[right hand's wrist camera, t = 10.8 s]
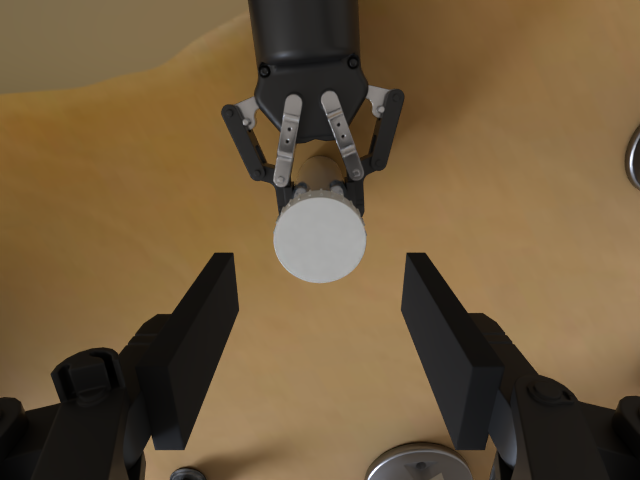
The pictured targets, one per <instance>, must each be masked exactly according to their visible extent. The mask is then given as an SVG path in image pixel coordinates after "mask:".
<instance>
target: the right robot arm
mask: <svg viewBox="0 0 640 480" xmlns="http://www.w3.org/2000/svg"><path fill="white" fill-rule="evenodd" d="M238 312H239V304H238V294H237V284H236V274H235V264H234V254H233V253H214V254H213V256H212V257H211V259H210V260H209V262H208V263H207V264H206V266H205V267H204V269H203V270H202V272H201V273H200V274H199V276H198V277H197V279H196V280H195V281H194V283H193V284H192V286H191V287H190V289H189V290H188V291H187V293H186V294H185V296H184V297H183V299H182V300H181V301H180V303H179V304H178V306H177V307H176V308H175V310H174V311H173V313H172V314H157V315H155V316H154V317H152V318H151V319H150V320H148V321H147V322H145V323H144V324H143V325H142V326H141V327H140V329H139V330H138V331H137V332H136V334H135V336H133V337H132V339H131V340H130V341H129V342H128V345H126V346H125V347H124V349H123V350H122V351H121V352H120V354H119V355H118V353H117V352H116V351H114V350H113V349H110V348H104V347H102V348H92V349H89V350H85V351H82V352H79V353H77V354H75V355H73V356H71V357H69V358H67V359H65V360H64V361H63V362H61V363H60V364H59V365H57V366H56V368H55V369H54V370H53V371H52V373H51V377H52V380H53V382H54V385H55V388H56V391H57V393H58V396H59V399H60V402H61V403H58V404H55V405H51V406H46V407H42V408H38V409H33V410H29V411H24V408H23V406H22V404H21V402H20V401H19V400H17V399H16V398H8V397H3V398H0V480H144V479H145V469H146V461H145V455H144V451H143V450H144V448H145V446H146V444H147V442H148V440H149V438H150V436H151V435H152V439H153V443H154V447H155V450H185V447H186V444H187V442H188V439H189V437H190V434H191V432H192V429H193V427H194V424H195V421H196V419H197V416H198V414H199V411H200V409H201V406H202V404H203V401H204V398H205V396H206V393H207V391H208V388H209V386H210V383H211V381H212V378H213V375H214V373H215V370H216V368H217V365H218V363H219V360H220V358H221V355H222V352H223V350H224V347H225V345H226V342H227V340H228V337H229V335H230V332H231V329H232V327H233V324H234V322H235V319H236V317H237V314H238ZM401 312H402V314H403V317H404V319H405V322H406V324H407V327H408V329H409V332H410V335H411V337H412V340H413V342H414V345H415V347H416V350H417V352H418V355H419V358H420V360H421V363H422V365H423V368H424V370H425V373H426V375H427V378H428V381H429V383H430V386H431V388H432V391H433V393H434V396H435V398H436V401H437V404H438V406H439V409H440V411H441V414H442V416H443V419H444V421H445V424H446V427H447V429H448V432H449V434H450V437H451V439H452V442H453V444H454V447H455V450H485V447H486V443H487V439H488V435H490V436H491V438H492V440H493V442H494V444H495V446H496V448H497V451H496V455H495V459H494V462H493V466H492V470H491V474H490V479H489V480H495V478H496V480H640V397H639V396H626V397H624V398H623V399H621V400H620V401H619V404H618V406H617V408H616V410H613V409H609V408H604V407H600V406H596V405H592V404H587V403H583V402H580V401H578V400H577V398H576V397H575V395H574V394H573V393H572V392H571V391H570V390H569V389H568V388H566V387H565V386H564V385H562V384H560V383H559V382H557V381H555V380H553V379H551V378H548V377H545V376H542V375H538V373H537V372H536V371H535V370H534V368H533V367H532V366H531V365H530V363H529V362H528V361H527V360H526V358H525V357H524V356H523V355H522V353H521V352H520V351H519V350H518V348H517V347H516V346H515V345H514V344H512V341H511V340H510V338H509V337H508V336H507V335H505V332H504V331H503V330H502V329H501V327H500V326H499V325H498V324H497V322H495V321H494V320H492V319H491V318H489V317H488V316H486V315H485V314H483V313H467V311H466V310H465V308H464V307H463V306H462V304H461V303H460V301H459V300H458V299H457V297H456V296H455V294H454V293H453V291H452V290H451V289H450V287H449V286H448V284H447V283H446V281H445V280H444V279H443V277H442V276H441V274H440V273H439V272H438V270H437V269H436V267H435V266H434V264H433V263H432V262H431V260H430V259H429V257H428V256H427V254H426V253H407V254H406V264H405V274H404V284H403V294H402V304H401ZM365 480H473V478H472V475H471V472H470V470H469V467H468V465H467V463H466V461H465V460H464V459H463V458H462V456H460V455H459V454H458V453H457V452H455V451H454V450H452V449H450V448H447V447H445V446H442V445H438V444H432V443H413V444H407V445H403V446H399V447H396V448H394V449H391V450H389V451H387V452H385V453H384V454H382V455H381V456H379V457H378V458H377V459H376V460H375V461H374V462H373V463H372V464H371V465H370V467H369V468H368V470H367V473H366V476H365Z"/></svg>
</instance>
